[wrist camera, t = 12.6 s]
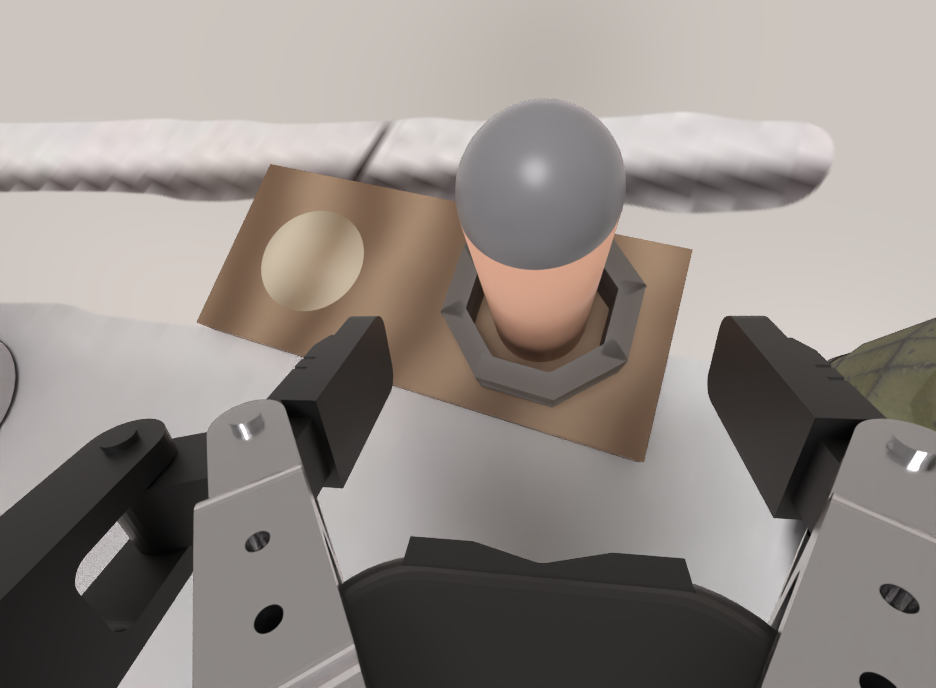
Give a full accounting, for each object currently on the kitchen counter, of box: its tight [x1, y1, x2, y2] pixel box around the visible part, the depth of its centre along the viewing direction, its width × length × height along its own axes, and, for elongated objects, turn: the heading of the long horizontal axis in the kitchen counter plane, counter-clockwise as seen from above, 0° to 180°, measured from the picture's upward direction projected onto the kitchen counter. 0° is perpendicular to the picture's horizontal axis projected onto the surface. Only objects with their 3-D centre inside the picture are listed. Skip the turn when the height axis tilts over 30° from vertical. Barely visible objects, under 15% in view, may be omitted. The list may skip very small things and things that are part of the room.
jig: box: [197, 164, 692, 462], centre depth 25 cm, size 28×12×4 cm, turn 73°
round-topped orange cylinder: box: [455, 99, 626, 362], centre depth 18 cm, size 5×5×14 cm
